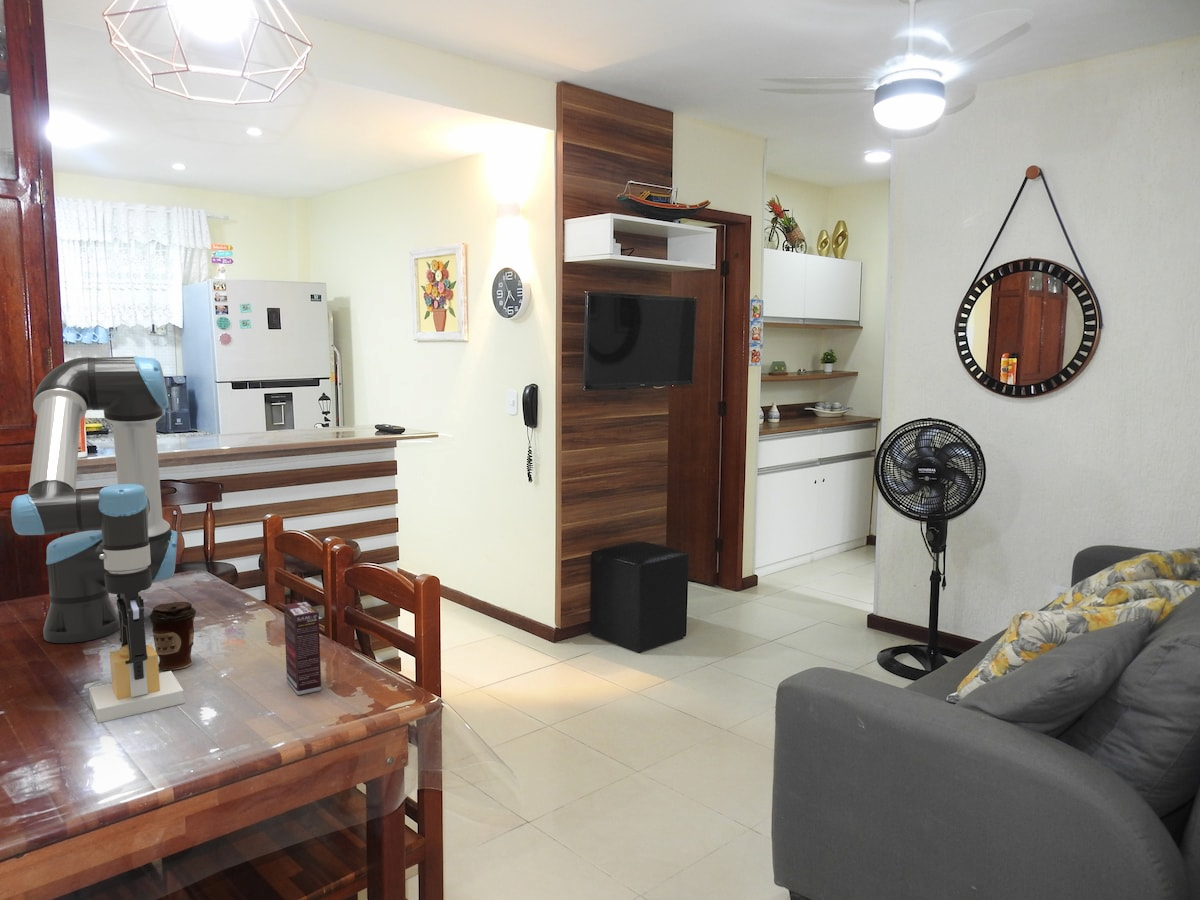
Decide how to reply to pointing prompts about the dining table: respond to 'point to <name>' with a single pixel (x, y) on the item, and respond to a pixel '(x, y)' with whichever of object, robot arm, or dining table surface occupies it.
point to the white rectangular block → (135, 699)
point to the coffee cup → (173, 634)
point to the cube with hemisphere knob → (122, 671)
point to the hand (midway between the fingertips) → (136, 687)
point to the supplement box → (302, 647)
